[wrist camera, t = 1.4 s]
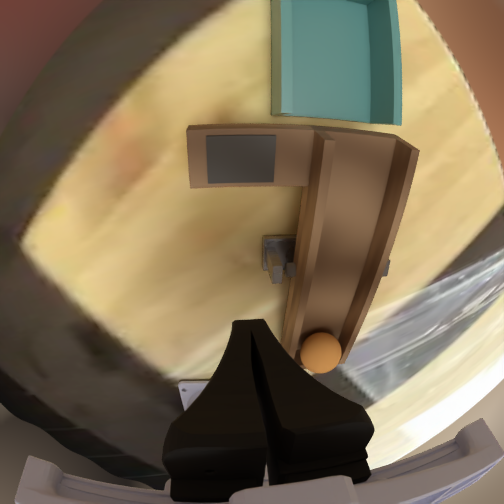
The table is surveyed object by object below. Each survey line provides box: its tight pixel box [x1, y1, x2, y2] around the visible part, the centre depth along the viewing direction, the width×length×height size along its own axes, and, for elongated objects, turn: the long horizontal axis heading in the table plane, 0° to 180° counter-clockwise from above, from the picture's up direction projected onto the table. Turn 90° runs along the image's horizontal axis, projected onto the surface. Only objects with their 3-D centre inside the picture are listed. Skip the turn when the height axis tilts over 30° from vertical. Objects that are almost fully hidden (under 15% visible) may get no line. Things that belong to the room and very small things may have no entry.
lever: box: [186, 124, 420, 369], centre depth 18 cm, size 18×12×3 cm, turn 179°
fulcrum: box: [262, 235, 390, 284], centre depth 20 cm, size 2×8×4 cm, turn 90°
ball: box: [300, 332, 341, 373], centre depth 22 cm, size 3×3×3 cm
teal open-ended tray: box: [271, 0, 402, 126], centre depth 15 cm, size 10×8×4 cm
